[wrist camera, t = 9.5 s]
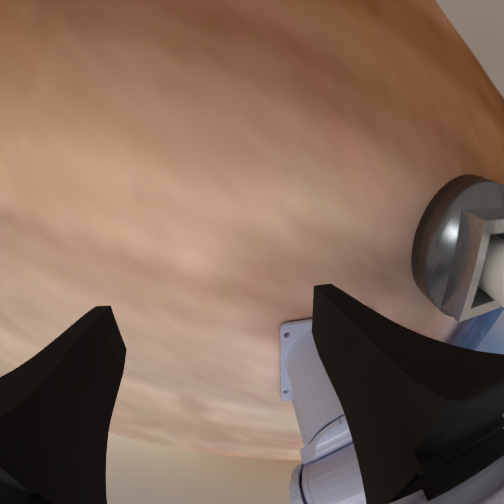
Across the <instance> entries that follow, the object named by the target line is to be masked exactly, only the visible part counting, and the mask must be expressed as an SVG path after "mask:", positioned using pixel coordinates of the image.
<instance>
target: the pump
mask: <svg viewBox="0 0 504 504" xmlns="http://www.w3.org/2000/svg"><path fill="white" fill-rule="evenodd" d="M478 287H479V288H481V289H482V290H483V291H484V292H485V293H487V294H488V295H489V296H490V297H492V298H493V299H494V300H495V301H496V302H497V303H499V304H500V305H501V306H502V307H503V308H504V240H503V239H502V238H500V237H498V236H497V235H495V234H490V239H489V243H488V248H487V252H486V257H485V261H484V265H483V269H482V272H481V276H480V280H479V283H478Z"/></svg>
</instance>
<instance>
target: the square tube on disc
mask: <svg viewBox="0 0 504 504" xmlns="http://www.w3.org/2000/svg"><path fill="white" fill-rule="evenodd" d="M490 234H495V235H497V236H498V237H500V238H502V239H503V240H504V185H502V184H499V183H496V182H494V181H491V180H488V179H485V178H483V177H480V176H477V175H463V176H459V177H457V178H455V179H453V180H451V181H450V182H448V183H447V184H446V185H445V186H443V187H442V188H441V189H440V190H439V191H438V193H437V194H436V195H435V196H434V197H433V199H432V200H431V202H430V203H429V205H428V206H427V208H426V210H425V212H424V214H423V216H422V218H421V220H420V223H419V225H418V228H417V231H416V234H415V238H414V243H413V249H412V271H413V276H414V279H415V282H416V284H417V286H418V288H419V289H420V290H421V291H422V292H423V293H424V294H425V295H426V296H427V297H428V298H429V299H430V300H431V301H432V302H433V303H434V304H435V305H436V306H437V307H438V308H439V309H440V310H441V311H442V312H443V313H444V314H446V315H448V316H452V317H454V318H455V319H456V320H457V321H458V322H461V321H464V320H467V319H470V318H473V317H475V316H478V315H481V314H484V313H486V312H489V311H492V310H494V309H497V308H499V307H502V306H501V305H500V304H499V303H497V302H496V301H495V300H494V299H493V298H492V297H490V296H489V295H488V294H487V293H485V292H484V291H483V290H482V289H481V288H479V287H478V283H479V280H480V276H481V272H482V269H483V265H484V261H485V257H486V252H487V248H488V243H489V239H490Z"/></svg>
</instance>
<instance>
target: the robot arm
mask: <svg viewBox="0 0 504 504" xmlns="http://www.w3.org/2000/svg"><path fill="white" fill-rule="evenodd" d="M285 333H288V334H287V335H284V334H285ZM125 356H126V347H125V344H124V342H123V339H122V337H121V334H120V331H119V329H118V326H117V323H116V320H115V317H114V315H113V312H112V309H111V306H96V307H94V308H93V309H91V310H90V311H89V312H87V313H86V314H85V315H84V316H82V317H81V318H80V319H79V320H78V321H76V322H75V323H74V324H73V325H72V326H71V327H69V328H68V329H67V330H66V331H65V332H63V333H62V334H61V335H60V336H59V337H58V338H56V339H55V340H54V341H53V342H51V343H50V344H49V345H48V346H46V347H45V348H44V349H43V350H42V351H40V352H39V353H38V354H36V355H35V356H34V357H32V358H31V359H30V360H28V361H27V362H25V363H24V364H22V365H21V366H19V367H18V368H16V369H14V370H13V371H11V372H9V373H7V374H6V375H4V376H2V377H0V504H107V499H106V451H107V440H108V431H109V425H110V420H111V416H112V412H113V408H114V405H115V401H116V397H117V394H118V390H119V386H120V382H121V379H122V375H123V370H124V364H125ZM280 398H281V400H282V401H289V400H292V402H293V406H294V410H295V413H296V417H297V421H298V425H299V428H300V432H301V436H302V440H303V443H304V446H305V447H304V448H302V449H300V454H301V458H302V462H303V463H301V464H299V465H297V466H296V467H295V468H294V470H293V472H292V475H291V480H290V485H289V495H290V500H291V504H504V429H503V428H504V417H503V416H502V415H503V414H504V355H502V354H495V353H487V352H480V351H475V350H470V349H465V348H461V347H457V346H453V345H450V344H447V343H443V342H440V341H437V340H434V339H431V338H429V337H426V336H423V335H421V334H419V333H416V332H414V331H412V330H409V329H407V328H405V327H403V326H401V325H399V324H397V323H395V322H393V321H391V320H389V319H387V318H386V317H384V316H382V315H380V314H379V313H377V312H375V311H373V310H372V309H370V308H368V307H367V306H365V305H364V304H362V303H361V302H359V301H357V300H356V299H354V298H353V297H351V296H350V295H348V294H347V293H345V292H344V291H342V290H340V289H339V288H337V287H336V286H334V285H332V284H325V285H317V286H314V298H313V317H312V319H308V320H301V321H294V322H287V323H283V324H282V325H281V326H280Z"/></svg>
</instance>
